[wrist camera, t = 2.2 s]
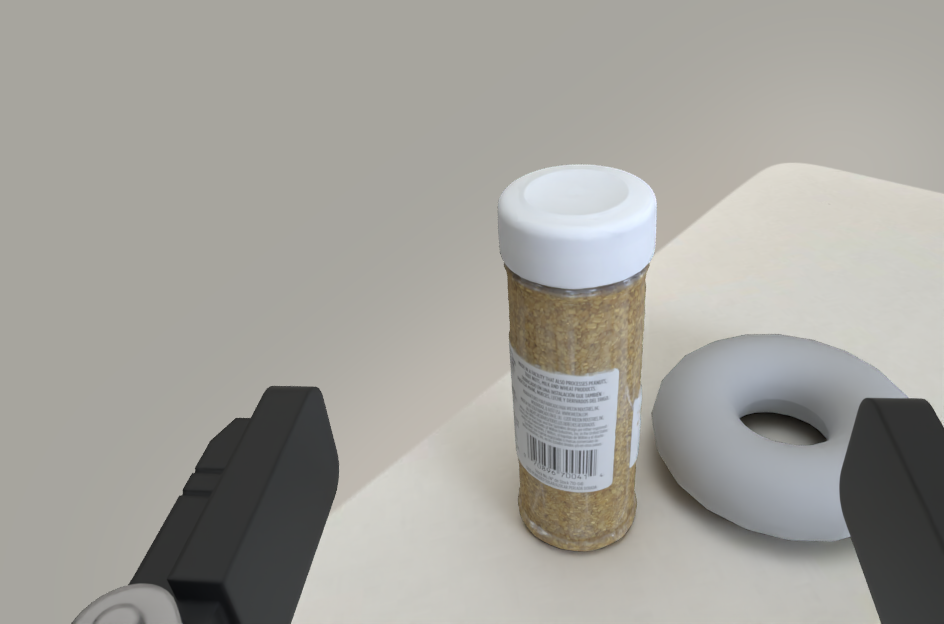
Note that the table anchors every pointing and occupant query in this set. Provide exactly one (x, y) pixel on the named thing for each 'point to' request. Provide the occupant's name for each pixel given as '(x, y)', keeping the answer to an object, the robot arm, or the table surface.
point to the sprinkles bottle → (577, 345)
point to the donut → (756, 457)
